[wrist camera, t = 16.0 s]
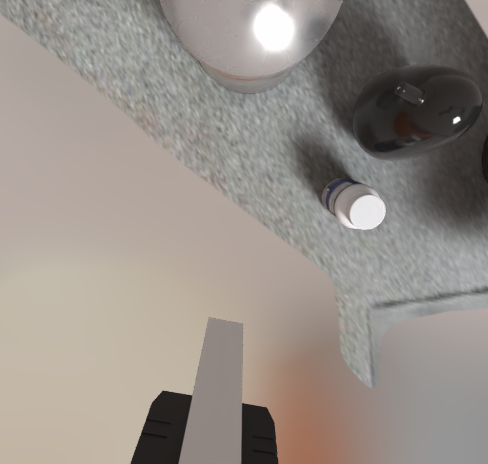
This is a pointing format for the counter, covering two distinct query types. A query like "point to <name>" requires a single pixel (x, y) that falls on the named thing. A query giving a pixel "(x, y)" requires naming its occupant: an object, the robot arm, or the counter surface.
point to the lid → (250, 32)
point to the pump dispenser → (415, 111)
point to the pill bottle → (353, 204)
